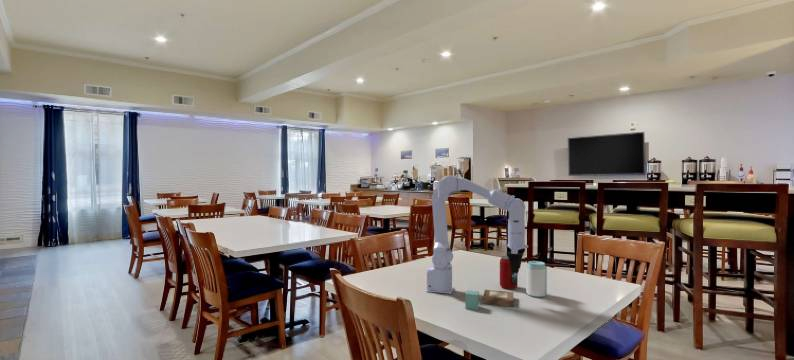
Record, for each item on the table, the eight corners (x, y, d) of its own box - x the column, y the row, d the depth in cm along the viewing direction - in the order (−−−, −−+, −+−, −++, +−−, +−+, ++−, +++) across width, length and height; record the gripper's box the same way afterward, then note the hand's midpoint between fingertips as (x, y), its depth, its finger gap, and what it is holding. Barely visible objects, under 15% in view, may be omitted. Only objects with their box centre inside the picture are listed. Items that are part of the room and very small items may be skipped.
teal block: (465, 308, 127) (465, 293, 127) (466, 305, 131) (466, 290, 130) (477, 310, 125) (477, 294, 125) (478, 306, 129) (478, 291, 129)
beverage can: (518, 290, 147) (518, 259, 147) (500, 289, 149) (500, 258, 149) (516, 285, 154) (516, 255, 154) (499, 284, 155) (499, 255, 155)
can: (523, 295, 142) (523, 262, 141) (531, 291, 147) (531, 259, 147) (541, 299, 137) (542, 265, 137) (549, 295, 142) (549, 262, 142)
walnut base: (482, 303, 132) (482, 297, 132) (485, 295, 141) (485, 289, 141) (513, 306, 129) (513, 300, 129) (513, 297, 138) (513, 291, 138)
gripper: (526, 236, 130) (526, 276, 130) (529, 230, 143) (529, 267, 143) (505, 234, 132) (504, 274, 132) (509, 229, 146) (509, 265, 146)
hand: (516, 270), depth 138 cm, fingers open, 7 cm apart
